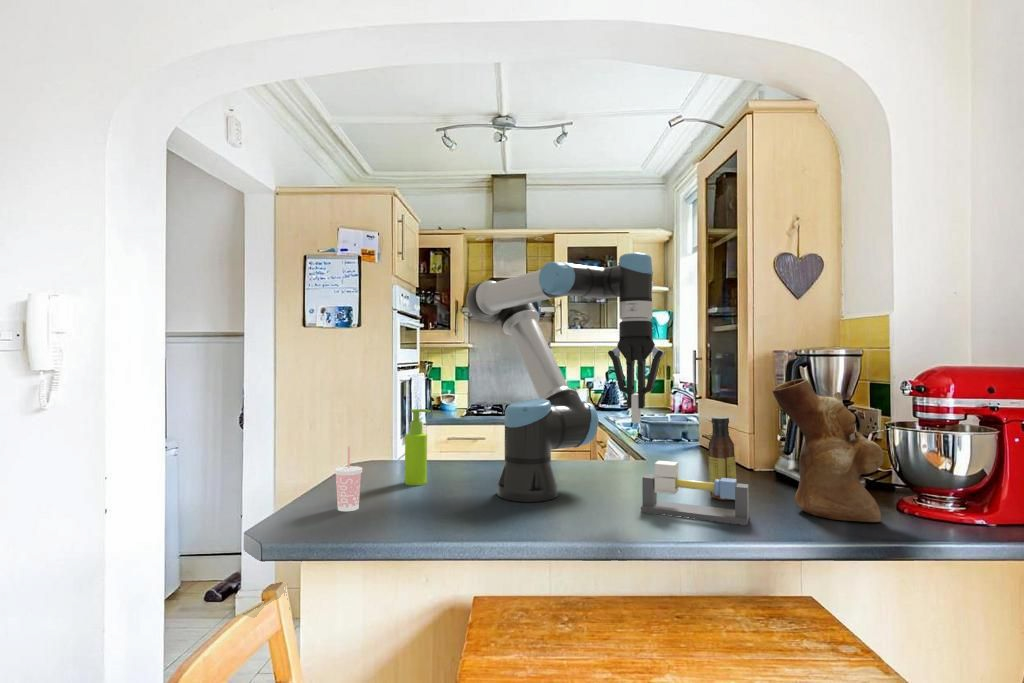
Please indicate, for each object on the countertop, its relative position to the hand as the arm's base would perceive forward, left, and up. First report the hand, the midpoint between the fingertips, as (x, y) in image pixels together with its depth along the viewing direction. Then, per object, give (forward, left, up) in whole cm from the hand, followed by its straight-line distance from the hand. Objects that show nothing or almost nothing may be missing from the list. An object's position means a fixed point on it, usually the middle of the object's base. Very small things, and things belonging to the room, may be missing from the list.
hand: (636, 422), depth 131 cm
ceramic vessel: (+39, +14, -20) cm, 46 cm away
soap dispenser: (-59, -3, -20) cm, 62 cm away
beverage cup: (-58, -31, -20) cm, 69 cm away
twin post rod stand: (+13, 0, -20) cm, 23 cm away
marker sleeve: (+7, 0, -15) cm, 17 cm away
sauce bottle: (+17, +18, -20) cm, 32 cm away
